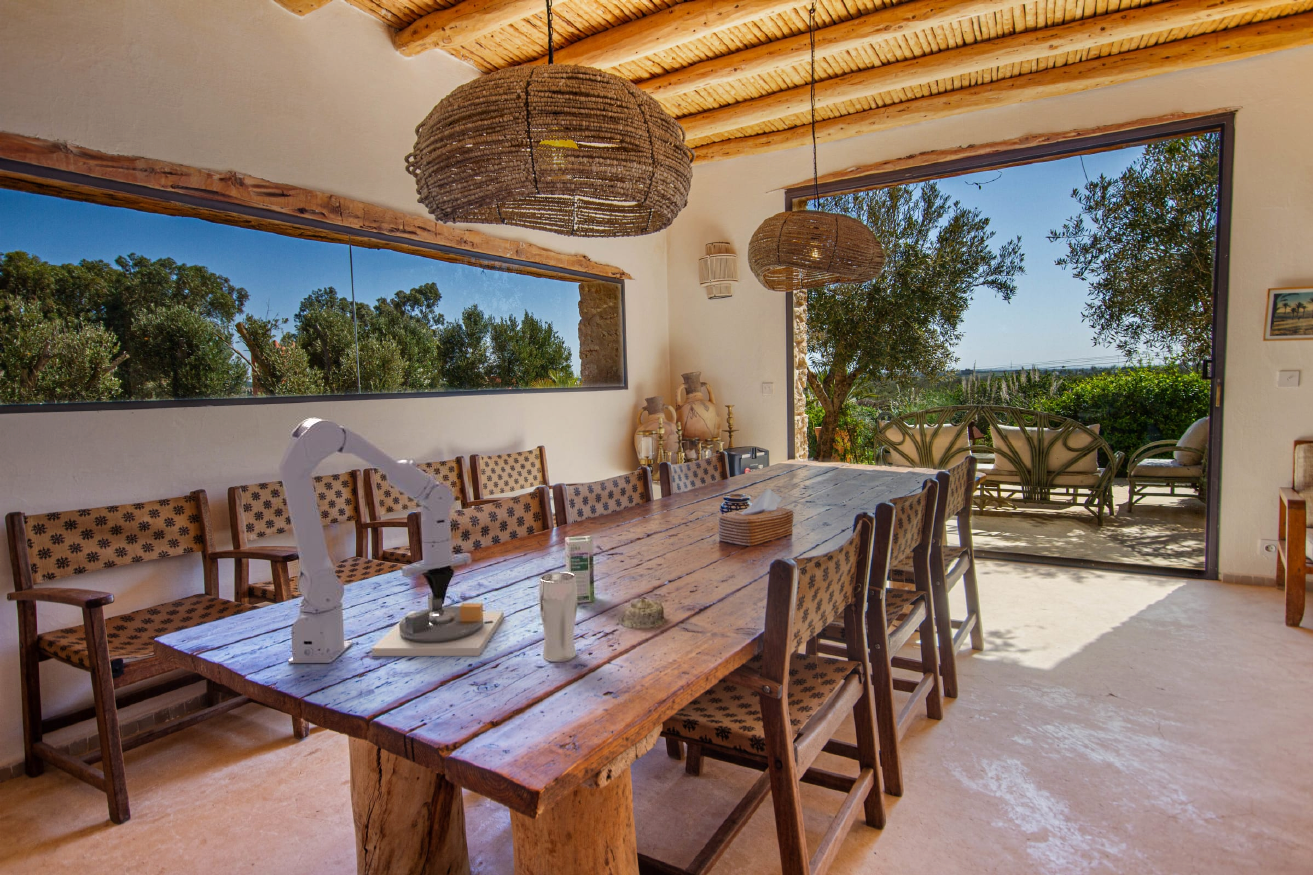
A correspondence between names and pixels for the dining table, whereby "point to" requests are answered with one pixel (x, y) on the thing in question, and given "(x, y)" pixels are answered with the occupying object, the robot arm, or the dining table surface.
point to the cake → (643, 615)
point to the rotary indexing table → (442, 622)
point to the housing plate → (461, 647)
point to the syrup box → (581, 565)
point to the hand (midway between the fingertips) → (439, 603)
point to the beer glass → (558, 615)
